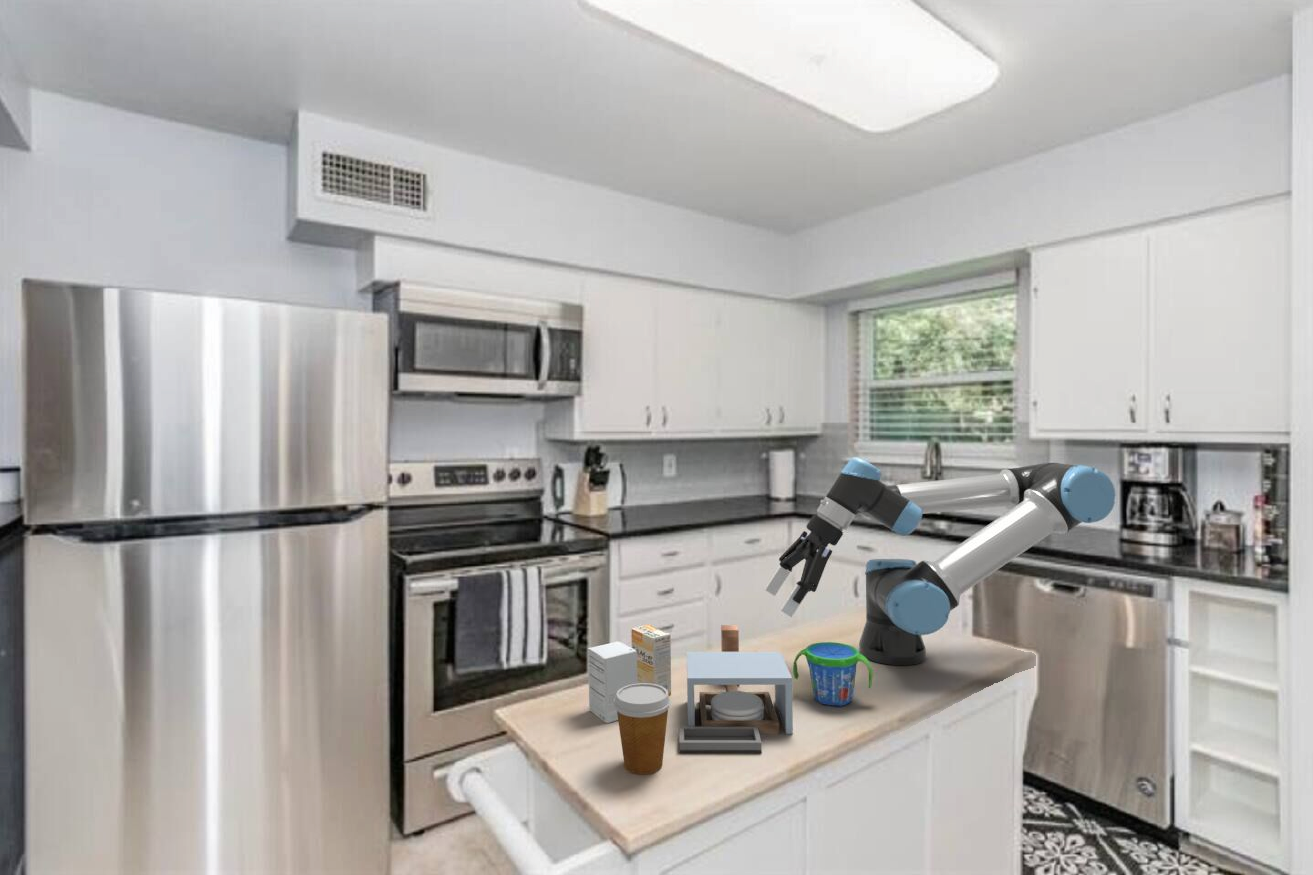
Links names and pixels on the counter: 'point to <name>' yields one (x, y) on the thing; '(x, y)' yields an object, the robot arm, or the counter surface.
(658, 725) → the disposable coffee cup
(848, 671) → the snack cup
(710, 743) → the tray
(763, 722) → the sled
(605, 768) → the counter surface
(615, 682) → the supplement box
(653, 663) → the supplement box
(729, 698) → the round grey tin
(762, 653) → the tunnel
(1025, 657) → the counter surface
